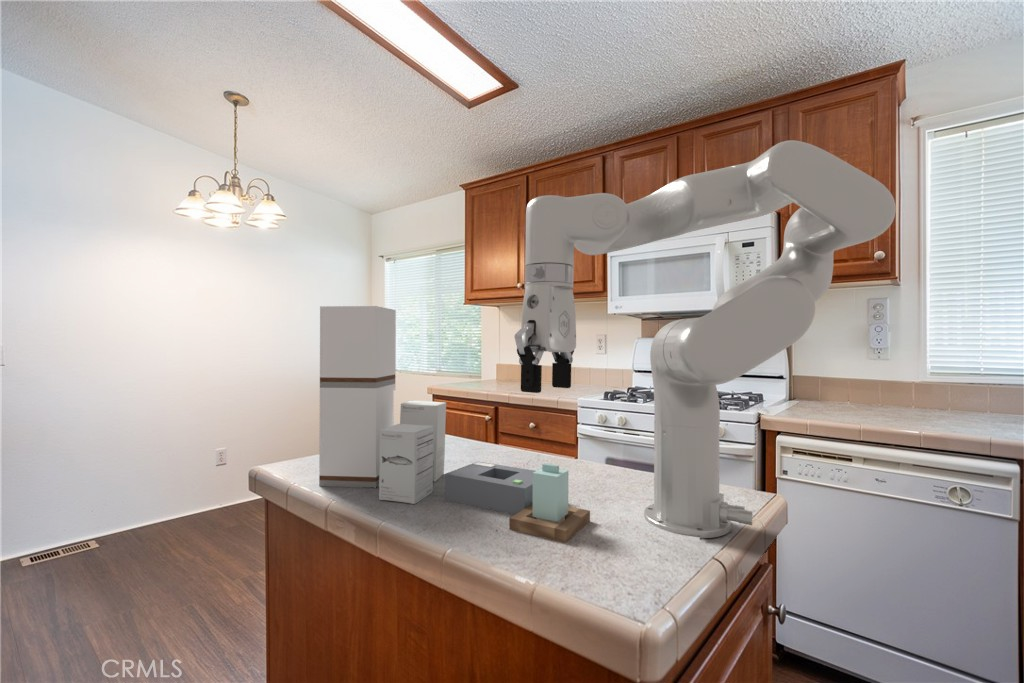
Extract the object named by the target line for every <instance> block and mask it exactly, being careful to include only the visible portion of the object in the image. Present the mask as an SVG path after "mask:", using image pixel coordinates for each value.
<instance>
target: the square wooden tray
mask: <svg viewBox="0 0 1024 683" xmlns="http://www.w3.org/2000/svg"><path fill="white" fill-rule="evenodd" d="M590 522H591V510H589V509H583V508H579V507H578V508H577V507H572V506H569V505H568V514H567V515H565V520H564V521H563V522H562V523H561V524H557V523H552V522H548V521H543V520H538V519H536V517H533V504H531V505H530V506H528V507H527V508H525V509H523V510H522V511H520V512H518V513H517V514H515V515H514V514H513V515H512V516H510V517H509V523H508V524H509V526H508V527H509V530H511V531H515V532H519V533H524V534H528V535H532V536H535V537H536V536H537V537H540V538H544V539H549V540H552V541H553V540H554V541H557V542H561V543H565V544H566V543H567V542H569V541H570V540H571V539H572V538H573V537H574V536H575V535H576V534H578V533H579V532H580V531H581V530H582V529H583V528H585V526H587V525H588V524H589V523H590Z"/></svg>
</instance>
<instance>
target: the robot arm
mask: <svg viewBox="0 0 1024 683" xmlns="http://www.w3.org/2000/svg"><path fill="white" fill-rule="evenodd" d="M793 203H794V204H795V205H797V206H798V207H799V208H798V209H797V210H796V211H794V213H793V214H792V215H791V216H790V218H789V219H788V221H787V224H786V225H785V229H784V234H783V247H782V248H783V249H782V253H781V255H780V257H779V258H778V259H777V260H776V261H775V262H773V263H771V264H770V265H769V266H767V267H766V268H764V269H762V270H761V271H759V272H758V273H756V274H755V275H753V276H751V277H750V278H748V279H746V280H744V281H742V282H741V283H739V284H737V285H734V286H733V287H731V288H729V289H727V290H726V291H725V292H723V294H721V296H720V297H719V298H718V299H717V300H716V301H715V303H714V305H713V307H712V310H711V311H710V312H707V314H704V315H703V316H699V317H689V318H688V317H687V318H681V319H676V320H673V321H670V322H669V323H667V324H665V325H664V326H663V327H661V328H660V329H659V330H658V331H657V333H656V334H655V335H654V337H653V340H652V342H651V346H650V351H649V352H650V353H649V354H650V355H649V357H650V368H651V369H650V370H651V377H652V385H653V397H654V398H653V403H654V406H653V408H654V411H653V412H654V418H653V419H654V421H653V422H654V423H653V428H654V429H653V445H654V446H653V449H654V450H653V467H654V468H653V470H654V471H653V472H654V473H653V474H654V475H653V480H654V481H653V503H652V504H650V505H648V506H646V507H645V508H644V511H643V516H644V517H643V518H644V519H645V521H646V522H648V523H649V524H650V525H652V526H654V527H656V528H658V529H660V530H663V531H666V532H670V533H673V534H677V535H678V534H680V535H685V536H690V537H691V536H694V537H699V539H714V538H719V537H722V536H725V535H726V534H728V533H730V531H731V530H732V523H731V522H736V523H738V524H741V525H742V524H743V525H748V526H753V519H754V517H753V516H754V515H753V513H754V512H753V511H752V510H746V508H745V506H743V505H742V506H741V505H733V504H728V502H727V501H725V500H724V499H725V494H724V493H720V425H721V424H720V423H721V419H720V418H721V417H720V416H721V412H720V411H721V410H720V399H719V394H718V393H719V392H718V389H717V385H722V384H726V383H728V382H731V381H734V380H735V379H738V378H740V377H742V376H743V375H744V374H745V375H746V374H747V373H748V372H750V371H751V370H753V369H755V368H756V367H758V366H760V365H762V364H763V363H764V362H766V361H768V360H770V359H771V358H773V357H774V356H776V355H777V354H780V353H781V352H782V351H784V350H786V349H788V348H789V347H790V346H792V345H793V344H795V343H796V342H797V341H799V340H800V339H801V338H802V337H804V336H805V334H806V333H807V332H808V330H809V329H810V327H811V325H812V324H813V321H814V318H815V313H816V302H817V301H818V300H820V299H821V298H822V297H823V296H824V295H825V294H826V293H827V292H828V290H829V288H830V287H831V284H832V279H833V274H834V273H833V272H834V254H835V253H834V252H835V251H839V250H842V249H845V248H849V247H852V246H855V245H859V244H862V243H867V242H869V241H871V240H874V239H876V238H877V237H879V236H881V235H883V233H885V232H887V231H888V229H889V228H890V227H891V225H892V224H893V222H894V219H895V218H896V211H897V207H896V206H897V205H896V202H895V197H894V196H893V195H892V193H891V191H890V190H889V189H888V188H887V187H886V186H885V184H883V183H882V182H880V181H879V180H878V179H876V178H874V177H873V176H871V175H869V174H868V173H866V172H864V171H862V170H861V169H859V168H858V167H857V168H856V167H855V166H853V165H852V164H850V163H849V162H846V161H845V160H843V159H841V158H840V157H838V156H836V155H835V154H833V153H830V152H828V151H826V150H825V149H823V148H820V147H819V146H816V145H813V144H812V143H808V142H804V141H800V140H791V139H790V140H785V141H780V142H778V143H776V144H775V145H773V146H771V147H770V148H768V149H767V150H766V151H764V152H763V153H762V154H760V155H759V156H758V157H756V158H755V159H753V160H751V161H748V162H745V163H741V164H740V163H739V164H736V165H735V164H734V165H731V166H726V167H723V168H718V169H717V168H716V169H713V170H708V171H702V172H699V173H694V174H692V173H691V174H689V175H685V176H682V177H679V178H677V179H675V180H673V181H671V182H668V183H667V184H666V185H664V186H662V187H660V188H659V189H658V190H656V191H654V192H652V193H650V194H649V195H646V196H644V197H641V198H640V199H637V200H634V201H630V202H629V203H628V202H627V203H626V202H625V201H624V200H623V199H622V198H621V197H619V196H617V195H615V194H614V193H613V194H612V193H607V192H599V193H590V194H585V195H578V196H569V197H567V196H566V197H565V196H561V195H554V194H552V195H551V194H549V195H541V196H536V197H534V198H532V199H531V200H530V201H529V202H528V203H527V205H526V208H525V209H526V210H525V211H526V212H525V248H524V249H525V251H524V253H525V254H524V256H525V258H524V294H523V302H522V311H521V328H520V329H519V330H518V331H516V333H515V334H514V341H515V345H516V353H517V356H518V357H519V359H518V363H519V365H520V391H521V393H535V394H541V393H542V376H543V374H542V368H543V367H542V366H543V365H541V364H540V361H541V359H542V358H543V357H542V356H543V355H544V352H549V353H551V355H552V357H553V360H554V362H552V367H551V368H552V369H551V370H552V372H551V386H552V387H553V388H557V389H570V388H571V387H572V364H573V362H574V361H573V360H574V358H573V354H574V352H575V350H576V348H577V322H576V321H577V320H576V317H577V316H576V304H575V296H574V292H573V289H574V271H575V270H574V269H575V268H574V266H575V265H574V264H575V261H574V260H575V259H574V258H575V249H576V250H577V251H578V252H580V253H582V254H584V255H588V256H598V255H605V254H608V253H609V254H610V253H614V252H618V251H623V250H627V249H632V248H637V247H640V246H643V245H646V244H651V243H654V242H658V241H662V240H667V239H671V238H676V237H679V236H682V235H685V234H689V233H692V232H696V231H700V230H704V229H709V228H714V227H718V226H724V225H728V224H733V223H738V222H742V221H746V220H752V219H756V218H759V217H764V216H767V215H770V214H772V213H774V212H777V211H779V210H781V209H782V208H785V207H787V206H788V205H790V204H793Z"/></svg>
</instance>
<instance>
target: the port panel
mask: <svg viewBox="0 0 1024 683" xmlns="http://www.w3.org/2000/svg"><path fill="white" fill-rule="evenodd" d="M535 471H536V470H532V469H528V468H521V467H514V466H509V465H502V464H496V463H495V464H494V463H490V462H483V461H476V462H473V463H470V464H468V465H465V466H462V467H459V468H457V469H454V470H451V471H449V472H446V473H444V503H447V502H448V501H450V502H456V503H461V504H465V505H470V506H475V507H477V508H478V507H479V508H483V509H488V510H493V511H496V512H501V513H506V514H511V515H513V516H514V515H515V514H517V513H518V512H520V511H522V510H523V509H525V508H527V507H528V506H530V505H531V504H533V472H535Z"/></svg>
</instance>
